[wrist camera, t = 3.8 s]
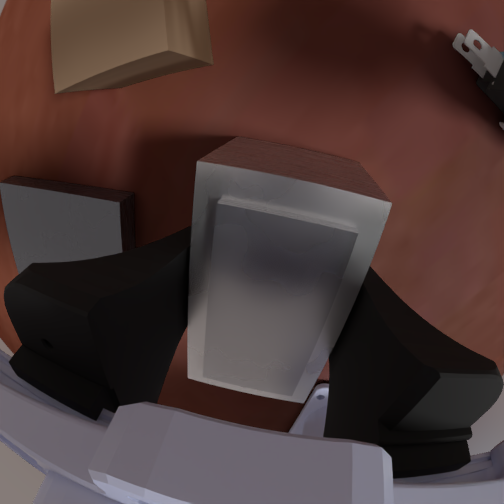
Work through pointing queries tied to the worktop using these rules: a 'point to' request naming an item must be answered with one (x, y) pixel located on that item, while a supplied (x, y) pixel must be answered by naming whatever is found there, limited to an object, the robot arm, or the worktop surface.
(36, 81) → the worktop surface
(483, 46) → the push button
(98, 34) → the tan cube
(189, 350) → the block
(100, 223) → the stand
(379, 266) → the worktop surface
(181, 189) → the worktop surface
